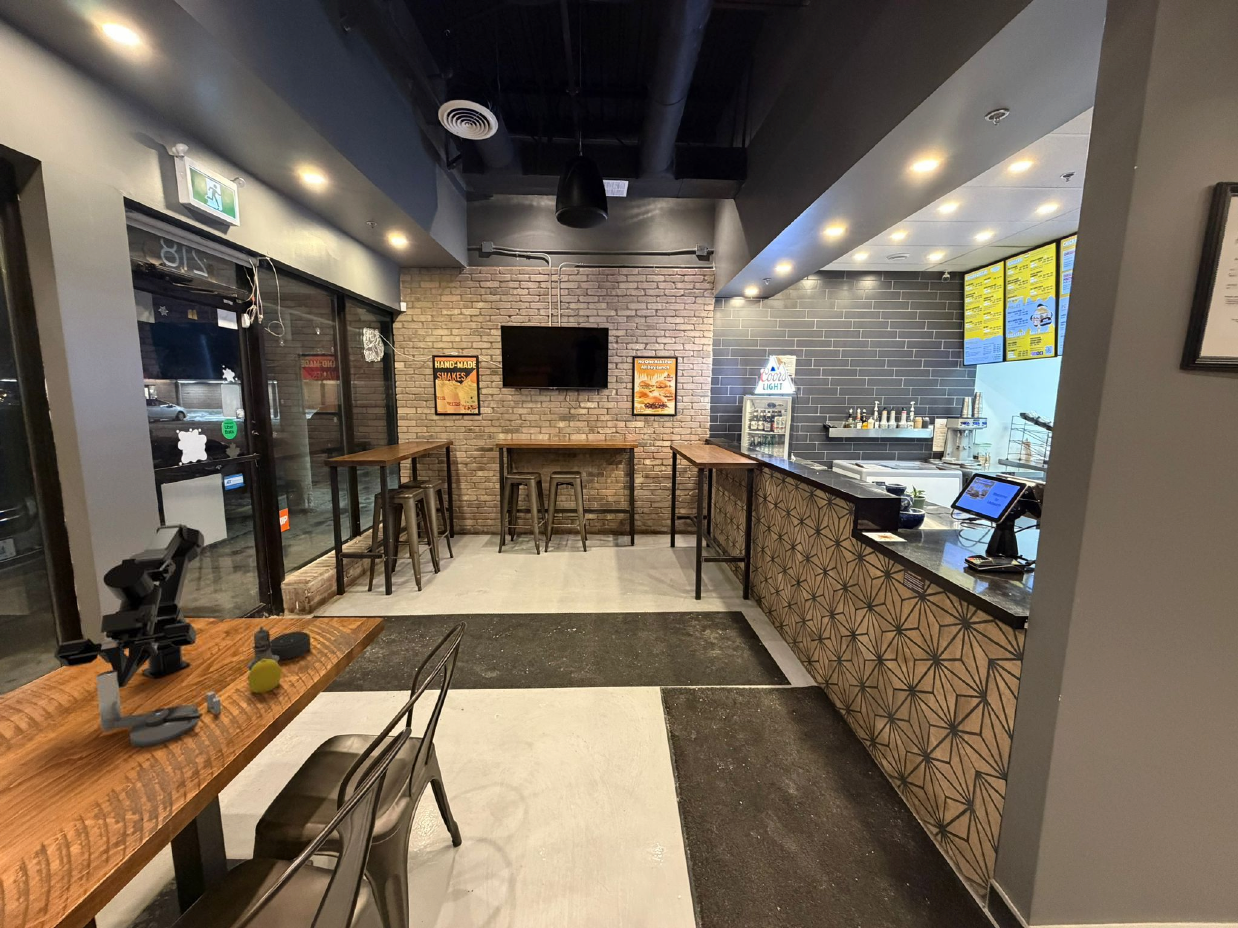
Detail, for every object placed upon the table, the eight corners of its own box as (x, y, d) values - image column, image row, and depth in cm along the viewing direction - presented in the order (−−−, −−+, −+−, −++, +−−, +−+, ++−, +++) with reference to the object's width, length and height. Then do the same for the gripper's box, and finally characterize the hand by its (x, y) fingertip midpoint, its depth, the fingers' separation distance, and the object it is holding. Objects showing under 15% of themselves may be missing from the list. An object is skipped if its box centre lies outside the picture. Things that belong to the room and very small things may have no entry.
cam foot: (99, 738, 82) (93, 675, 81) (175, 705, 92) (170, 648, 91) (134, 760, 77) (128, 693, 76) (210, 723, 87) (206, 663, 86)
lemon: (261, 687, 101) (259, 652, 100) (287, 686, 101) (285, 652, 101) (243, 702, 96) (240, 666, 95) (271, 701, 96) (268, 665, 95)
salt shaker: (262, 684, 102) (259, 633, 101) (241, 681, 103) (237, 630, 102) (286, 670, 108) (283, 622, 107) (266, 667, 109) (263, 619, 108)
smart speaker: (261, 656, 115) (260, 640, 114) (300, 641, 122) (300, 627, 122) (277, 666, 110) (276, 650, 110) (317, 650, 117) (316, 636, 117)
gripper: (54, 602, 85) (24, 687, 76) (188, 584, 94) (175, 658, 86) (79, 626, 92) (55, 707, 84) (201, 608, 102) (190, 678, 93)
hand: (120, 686), depth 87 cm, fingers closed
